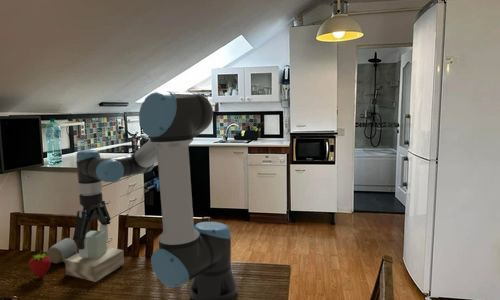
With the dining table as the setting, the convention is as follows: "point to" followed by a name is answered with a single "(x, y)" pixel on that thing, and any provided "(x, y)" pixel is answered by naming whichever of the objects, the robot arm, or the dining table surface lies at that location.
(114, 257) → the birch block
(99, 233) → the sage block
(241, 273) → the dining table surface
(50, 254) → the ceramic mug
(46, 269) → the strawberry
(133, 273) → the dining table surface
